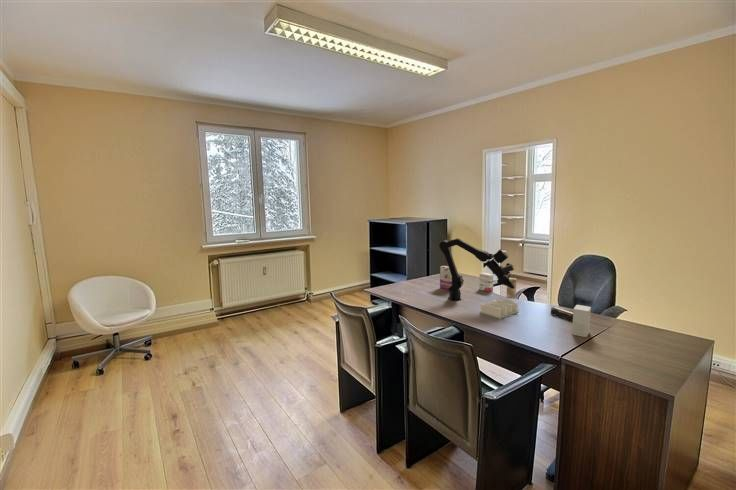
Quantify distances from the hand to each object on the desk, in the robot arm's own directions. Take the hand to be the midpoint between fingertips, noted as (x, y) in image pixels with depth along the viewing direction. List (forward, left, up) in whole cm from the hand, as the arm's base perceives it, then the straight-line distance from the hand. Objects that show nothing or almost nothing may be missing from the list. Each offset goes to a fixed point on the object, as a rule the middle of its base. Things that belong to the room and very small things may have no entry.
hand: (513, 287), depth 210 cm
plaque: (-1, +1, -7) cm, 7 cm away
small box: (+3, -45, -12) cm, 47 cm away
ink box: (+6, +36, -12) cm, 38 cm away
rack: (-15, -7, -12) cm, 20 cm away
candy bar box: (-18, +47, -12) cm, 52 cm away
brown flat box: (+14, -23, -12) cm, 30 cm away
